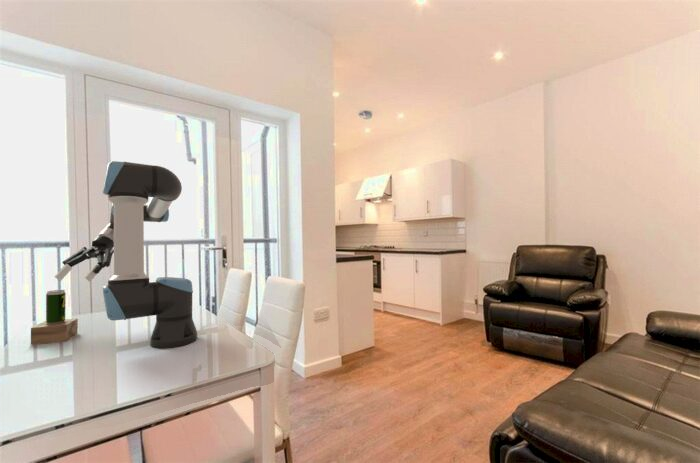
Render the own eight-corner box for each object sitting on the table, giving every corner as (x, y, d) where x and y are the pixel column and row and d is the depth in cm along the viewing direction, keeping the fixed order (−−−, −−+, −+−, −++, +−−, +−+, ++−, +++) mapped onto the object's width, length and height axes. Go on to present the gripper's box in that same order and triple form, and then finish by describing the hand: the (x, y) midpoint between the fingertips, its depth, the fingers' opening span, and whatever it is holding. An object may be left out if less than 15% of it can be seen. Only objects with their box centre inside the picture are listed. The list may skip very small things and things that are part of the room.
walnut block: (66, 341, 118) (66, 324, 118) (30, 344, 114) (30, 327, 114) (77, 333, 127) (77, 318, 127) (45, 336, 123) (45, 321, 123)
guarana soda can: (46, 325, 117) (46, 292, 117) (45, 322, 121) (46, 290, 121) (65, 322, 121) (65, 290, 121) (65, 320, 125) (65, 289, 125)
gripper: (136, 246, 143) (106, 285, 128) (87, 246, 147) (52, 284, 132) (126, 234, 138) (94, 273, 123) (76, 234, 141) (38, 272, 126)
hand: (72, 279), depth 127 cm, fingers open, 13 cm apart
